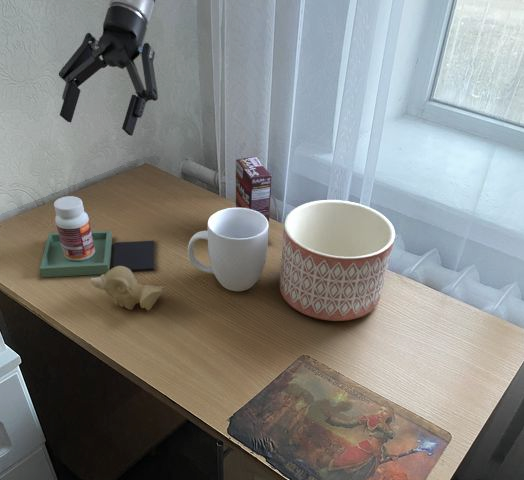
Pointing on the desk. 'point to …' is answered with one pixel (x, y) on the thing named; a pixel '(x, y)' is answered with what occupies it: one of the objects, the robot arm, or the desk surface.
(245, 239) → the mug
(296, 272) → the planter
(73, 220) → the pill bottle
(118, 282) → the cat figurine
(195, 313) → the desk surface
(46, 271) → the tray
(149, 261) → the scrub mat
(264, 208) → the supplement box
